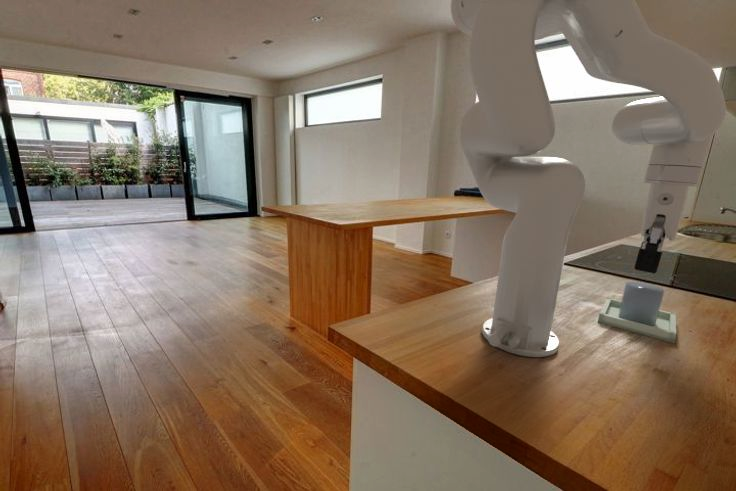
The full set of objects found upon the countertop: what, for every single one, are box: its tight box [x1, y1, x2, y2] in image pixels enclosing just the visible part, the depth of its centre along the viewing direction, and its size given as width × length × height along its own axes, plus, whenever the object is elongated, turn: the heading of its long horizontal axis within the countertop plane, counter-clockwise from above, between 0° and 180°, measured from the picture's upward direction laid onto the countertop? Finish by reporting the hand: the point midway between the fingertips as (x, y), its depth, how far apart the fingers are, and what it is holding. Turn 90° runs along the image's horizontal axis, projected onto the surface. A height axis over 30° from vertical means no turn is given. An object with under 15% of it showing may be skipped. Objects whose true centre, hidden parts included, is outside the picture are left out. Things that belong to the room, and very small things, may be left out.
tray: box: [597, 297, 677, 344], centre depth 68 cm, size 12×12×2 cm
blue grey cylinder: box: [618, 281, 665, 326], centre depth 68 cm, size 6×6×7 cm
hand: (645, 266), depth 65 cm, fingers open, 9 cm apart
